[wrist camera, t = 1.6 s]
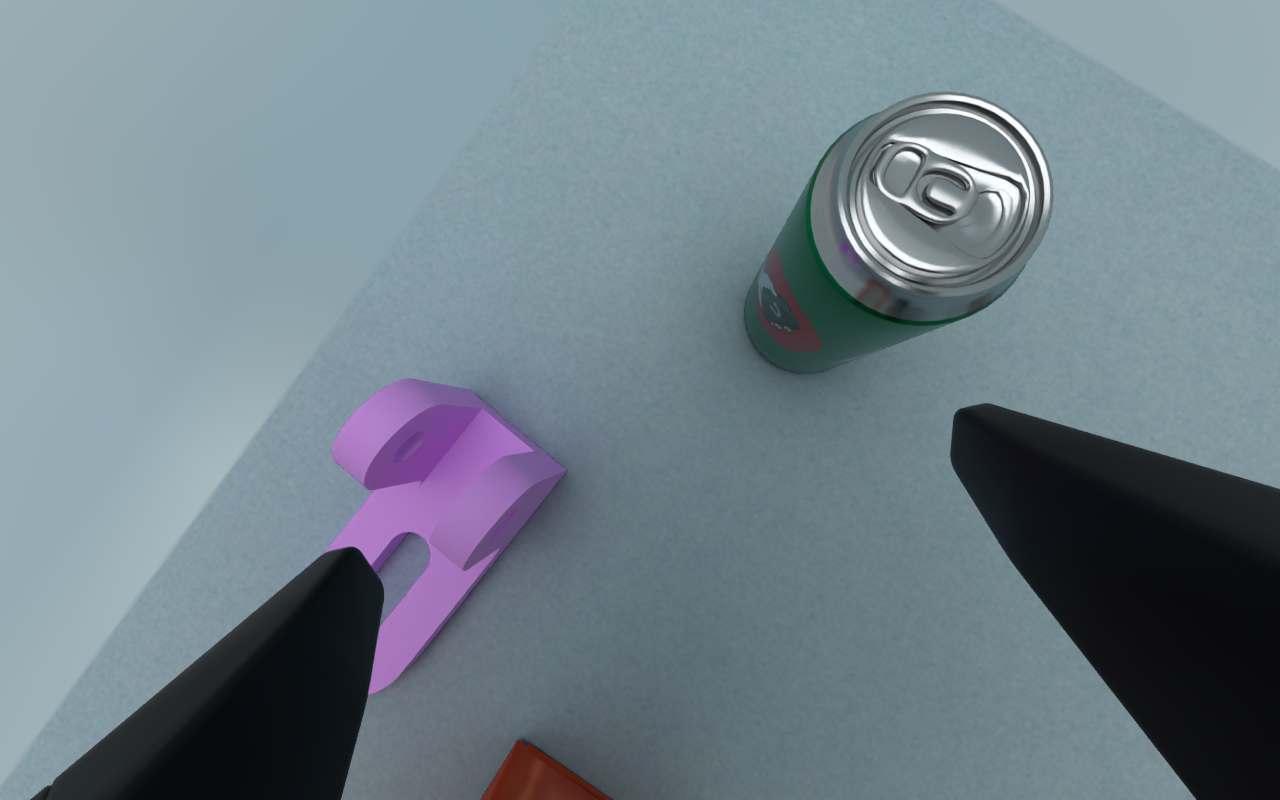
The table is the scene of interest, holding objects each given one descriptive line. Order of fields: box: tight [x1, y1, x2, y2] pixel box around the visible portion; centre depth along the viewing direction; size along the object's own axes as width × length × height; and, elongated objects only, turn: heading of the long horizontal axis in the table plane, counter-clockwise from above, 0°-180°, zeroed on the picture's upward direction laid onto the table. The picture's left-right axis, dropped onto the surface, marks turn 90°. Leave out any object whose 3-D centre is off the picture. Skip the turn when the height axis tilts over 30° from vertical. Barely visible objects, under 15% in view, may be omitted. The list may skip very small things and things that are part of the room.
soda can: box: [744, 92, 1054, 374], centre depth 17 cm, size 5×5×12 cm
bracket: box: [325, 379, 567, 695], centre depth 20 cm, size 13×6×7 cm, turn 141°
